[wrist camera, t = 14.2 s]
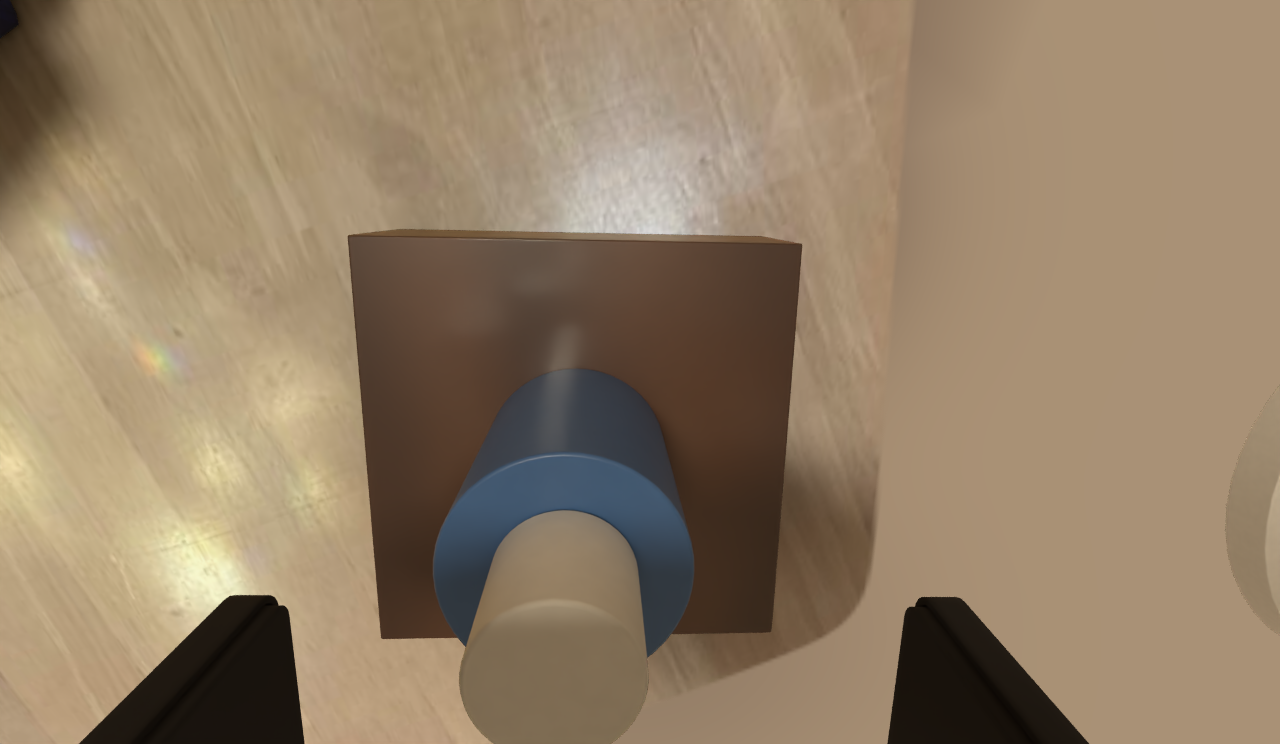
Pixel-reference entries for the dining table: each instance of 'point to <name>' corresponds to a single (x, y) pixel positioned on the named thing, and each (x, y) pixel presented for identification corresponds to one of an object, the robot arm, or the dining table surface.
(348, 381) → the dining table surface
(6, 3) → the decorative cube
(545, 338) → the block
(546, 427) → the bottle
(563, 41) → the dining table surface
